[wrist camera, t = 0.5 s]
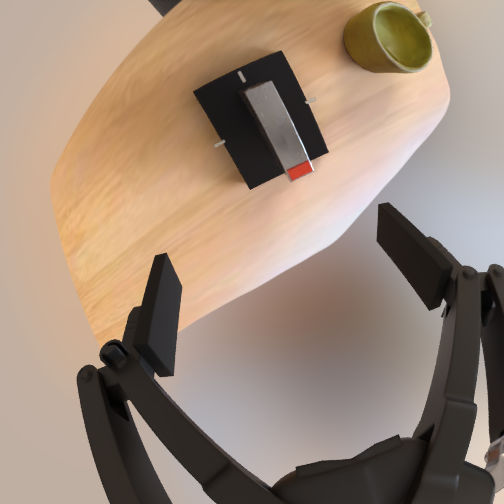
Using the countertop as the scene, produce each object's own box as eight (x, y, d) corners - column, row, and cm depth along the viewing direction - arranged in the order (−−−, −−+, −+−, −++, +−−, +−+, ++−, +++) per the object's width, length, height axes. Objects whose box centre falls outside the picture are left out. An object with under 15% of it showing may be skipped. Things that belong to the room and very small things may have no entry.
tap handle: (237, 91, 26) (244, 92, 19) (257, 82, 26) (272, 80, 18) (272, 157, 31) (291, 183, 24) (290, 149, 31) (315, 172, 23)
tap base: (186, 96, 28) (183, 96, 26) (285, 49, 26) (290, 46, 24) (240, 187, 36) (242, 194, 34) (329, 144, 33) (337, 149, 31)
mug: (367, 98, 28) (412, 73, 18) (320, 36, 26) (349, -5, 16) (418, 72, 28) (462, 52, 18) (378, 18, 25) (412, -12, 16)
